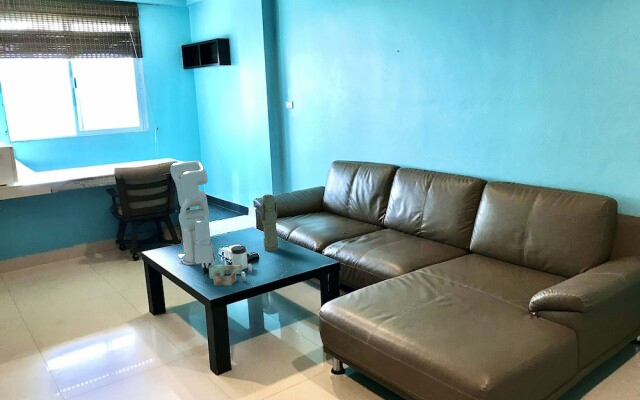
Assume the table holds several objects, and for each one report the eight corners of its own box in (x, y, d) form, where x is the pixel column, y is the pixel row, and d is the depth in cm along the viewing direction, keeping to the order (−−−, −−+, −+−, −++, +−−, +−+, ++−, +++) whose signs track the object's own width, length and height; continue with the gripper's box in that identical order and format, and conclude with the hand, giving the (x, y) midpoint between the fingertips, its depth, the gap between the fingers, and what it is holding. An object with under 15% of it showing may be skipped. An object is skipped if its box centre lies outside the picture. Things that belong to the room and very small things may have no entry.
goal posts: (241, 281, 261) (240, 272, 260) (249, 272, 274) (248, 263, 273) (245, 281, 261) (244, 273, 260) (252, 272, 274) (252, 263, 273)
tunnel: (209, 285, 258) (209, 277, 257) (221, 272, 276) (221, 264, 275) (231, 285, 256) (231, 277, 255) (242, 272, 274) (241, 265, 273)
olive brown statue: (283, 248, 314) (279, 194, 306) (269, 253, 305) (265, 197, 298) (273, 245, 320) (269, 192, 312) (259, 250, 311) (255, 196, 303)
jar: (241, 264, 288) (239, 244, 286) (250, 266, 283) (249, 246, 280) (229, 268, 282) (227, 248, 279) (238, 271, 276) (237, 251, 274)
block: (209, 278, 268) (208, 268, 266) (214, 274, 274) (213, 264, 272) (220, 278, 267) (219, 268, 265) (224, 274, 272) (223, 264, 271)
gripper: (187, 243, 264) (191, 276, 268) (214, 244, 262) (217, 276, 266) (193, 239, 272) (196, 271, 276) (219, 239, 269) (222, 271, 273)
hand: (206, 273), depth 271 cm, fingers closed
